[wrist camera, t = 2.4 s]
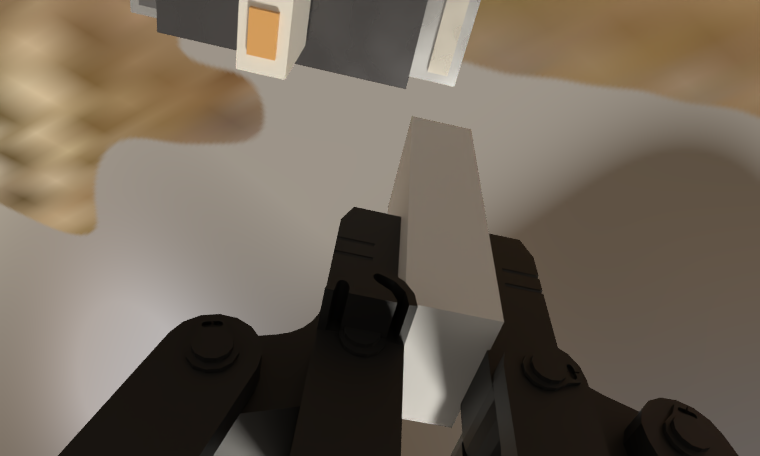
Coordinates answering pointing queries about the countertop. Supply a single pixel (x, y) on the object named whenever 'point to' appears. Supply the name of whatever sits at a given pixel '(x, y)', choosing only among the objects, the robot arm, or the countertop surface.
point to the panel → (345, 34)
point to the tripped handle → (271, 35)
